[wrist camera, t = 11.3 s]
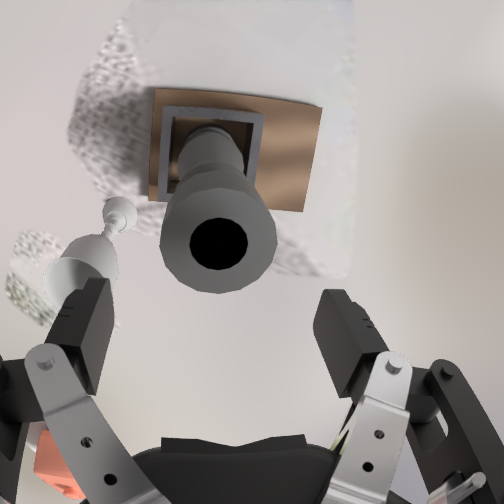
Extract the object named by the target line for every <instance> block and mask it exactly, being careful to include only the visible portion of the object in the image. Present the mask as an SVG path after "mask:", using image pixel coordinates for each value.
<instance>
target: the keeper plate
mask: <svg viewBox="0 0 504 504" xmlns="http://www.w3.org/2000/svg"><path fill="white" fill-rule="evenodd" d="M168 104H177V105H194V106H207V107H219V108H229V109H239V110H247V111H256V112H259V113H262V114H264V115H265V118H264V125H263V132H262V138H261V145H260V152H259V159H258V165H257V172H256V179H255V186H254V187H255V188H256V190H257V191H258V193H259V195H260V196H261V198H262V199H263V201H264V203H265V205H266V207H267V209H272V210H284V211H294V212H303V208H304V203H305V198H306V193H307V188H308V183H309V178H310V173H311V168H312V163H313V157H314V152H315V147H316V141H317V136H318V130H319V125H320V119H321V113H322V108H320V107H316V106H310V105H305V104H300V103H294V102H288V101H282V100H276V99H269V98H262V97H254V96H246V95H238V94H229V93H219V92H207V91H194V90H176V89H155V97H154V108H153V119H152V132H151V148H150V167H149V196H148V201H157V200H158V175H159V157H160V142H161V128H162V117H163V106H165V105H168ZM208 123H210V124H216V125H220V126H221V127H223V128H224V129H226V130H227V131H228V132H229V133H230V135H231V137H232V138H233V140H234V141H235V143H236V146H237V148H238V149H239V151H240V152H241V154H242V157H243V153H244V146H245V138H246V131H247V124H248V122H240V121H231V120H220V119H209V118H196V117H180V116H176V125H175V136H174V148H173V162H172V177H171V181H180V180H179V175H178V171H177V165H178V160H179V155H180V153H181V152H182V147H183V143H184V140H185V138H186V137H187V135H188V134H189V132H190V131H191V130H193V129H194V128H196V127H197V126H199V125H203V124H208Z"/></svg>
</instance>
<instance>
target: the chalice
mask: <svg viewBox="0 0 504 504" xmlns="http://www.w3.org/2000/svg"><path fill="white" fill-rule="evenodd" d="M103 219H104V223H105V228H104V231H103V232H102V233H101V235H93V234H91V235H87V236H83V237H80V238H77V239H75V240H74V241H73V242H72V243H70V244H69V246H68V247H67V248H66V250H65V251H64V253H63V254H62V255H61V257H60V258H58V259H55V260H53V261H52V262H51V263H50V264H48V265H47V267H46V269H45V271H44V274H43V286H44V290H45V294H46V296H47V297H48V299H49V301H50V303H51V304H52V305H53V306H54V308H55V309H56V310H57V311H58V312H59V311H60V309H61V308H62V305H63V303H64V301H65V299H66V297H67V296H68V295H69V294H71V293H72V292H73V291H74V290H75V289H81V290H83V288H84V286H85V284H86V282H87V280H88V278H89V277H101V278H109V279H110V283H111V292H113V289H114V286H115V284H116V281H117V278H118V274H119V267H118V259H117V254H116V252H115V249H114V247H113V244H112V241H113V236H116V235H117V233H121V232H126V231H129V230H130V229H132V228H133V227H134V226H135V224H136V222H137V219H138V213H137V209H136V207H135V206H134V204H133V203H132V202H131V201H129V200H128V199H126V198H123V197H115V198H112V199H110V200H109V201H107V203H106V204H105V205H104V208H103ZM112 300H113V297H112Z"/></svg>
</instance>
